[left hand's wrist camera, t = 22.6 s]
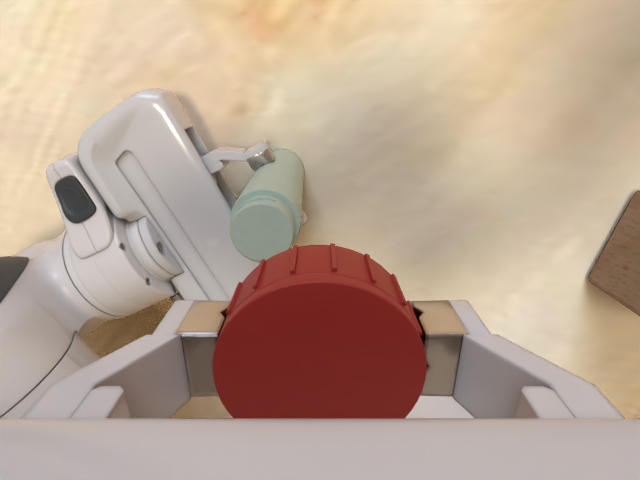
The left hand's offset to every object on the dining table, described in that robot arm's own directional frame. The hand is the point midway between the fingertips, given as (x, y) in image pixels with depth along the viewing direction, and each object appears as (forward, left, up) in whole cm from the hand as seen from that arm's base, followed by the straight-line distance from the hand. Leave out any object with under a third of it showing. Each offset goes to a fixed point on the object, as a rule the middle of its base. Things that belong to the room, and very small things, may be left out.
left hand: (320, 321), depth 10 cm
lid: (0, 0, +2) cm, 2 cm away
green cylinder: (+2, +2, -26) cm, 26 cm away
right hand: (+2, +1, -20) cm, 21 cm away
